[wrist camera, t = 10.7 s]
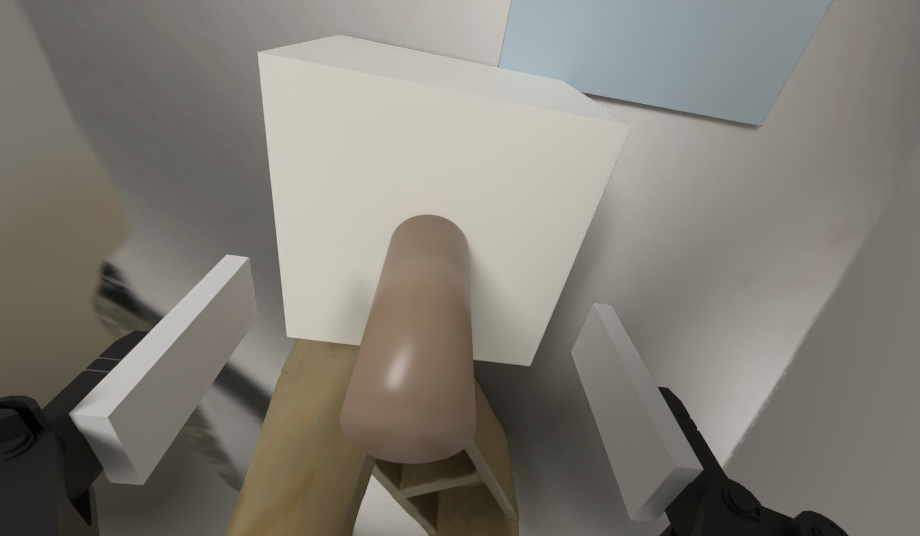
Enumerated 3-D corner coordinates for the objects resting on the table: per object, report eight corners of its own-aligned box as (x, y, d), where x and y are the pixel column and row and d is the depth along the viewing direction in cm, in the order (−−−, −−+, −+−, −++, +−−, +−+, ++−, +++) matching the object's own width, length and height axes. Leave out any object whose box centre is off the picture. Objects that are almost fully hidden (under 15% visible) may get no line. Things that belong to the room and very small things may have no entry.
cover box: (340, 34, 25) (-12, 107, 6) (563, 80, 26) (817, 248, 8) (339, 236, 33) (190, 522, 15) (508, 261, 35) (567, 548, 16)
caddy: (510, 437, 49) (568, 871, 24) (434, 454, 51) (414, 873, 26) (418, 258, 34) (318, 904, 9) (316, 292, 36) (1, 903, 11)
